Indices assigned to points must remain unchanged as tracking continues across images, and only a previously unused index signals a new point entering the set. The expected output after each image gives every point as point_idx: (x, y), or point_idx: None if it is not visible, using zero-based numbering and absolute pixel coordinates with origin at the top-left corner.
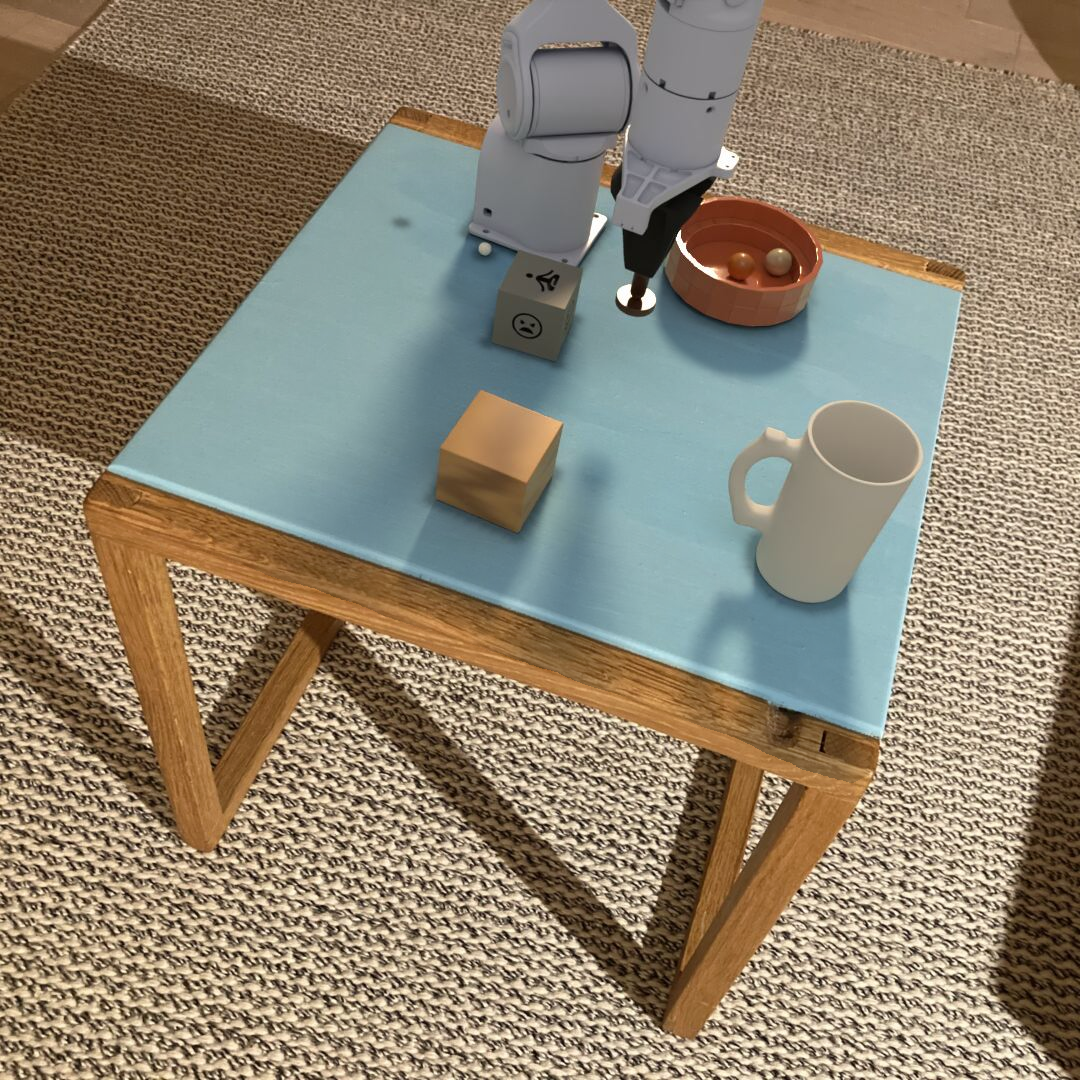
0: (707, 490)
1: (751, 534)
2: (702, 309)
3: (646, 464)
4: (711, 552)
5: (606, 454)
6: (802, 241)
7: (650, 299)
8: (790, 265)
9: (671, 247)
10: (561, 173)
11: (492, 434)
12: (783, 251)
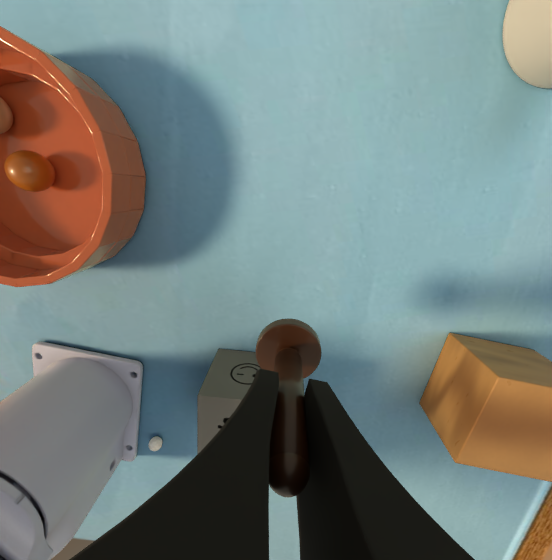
0: (446, 166)
1: (513, 99)
2: (140, 213)
3: (417, 242)
4: (546, 149)
5: (410, 286)
6: None
7: (286, 333)
8: None
9: (266, 388)
10: (54, 486)
11: (529, 442)
12: None
